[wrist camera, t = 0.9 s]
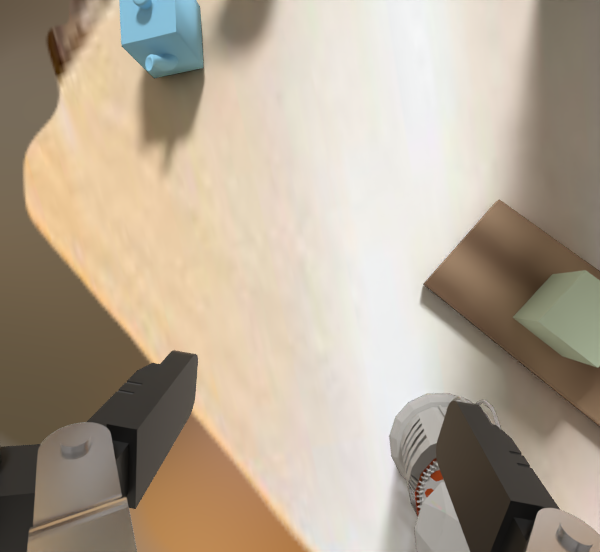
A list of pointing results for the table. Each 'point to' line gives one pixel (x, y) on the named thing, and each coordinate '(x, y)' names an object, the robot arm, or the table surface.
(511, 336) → the wooden board with post
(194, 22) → the teapot
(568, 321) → the cube
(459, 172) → the table surface
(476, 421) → the robot arm
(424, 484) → the french press
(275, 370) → the table surface
